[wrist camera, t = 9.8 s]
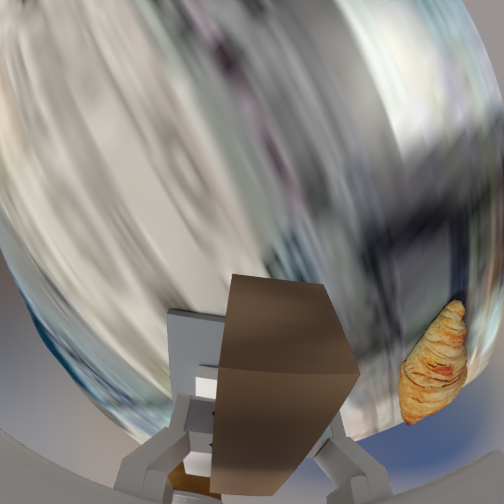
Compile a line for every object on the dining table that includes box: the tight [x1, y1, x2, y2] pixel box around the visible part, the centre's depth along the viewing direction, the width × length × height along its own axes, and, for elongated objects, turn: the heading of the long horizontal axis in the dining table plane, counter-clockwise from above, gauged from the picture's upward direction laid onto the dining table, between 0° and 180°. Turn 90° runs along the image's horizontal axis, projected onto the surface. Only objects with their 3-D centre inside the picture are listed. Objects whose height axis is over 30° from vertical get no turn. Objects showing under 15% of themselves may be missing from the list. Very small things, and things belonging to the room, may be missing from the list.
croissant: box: [398, 300, 467, 426], centre depth 24 cm, size 21×10×8 cm, turn 7°
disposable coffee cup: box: [167, 461, 223, 504], centre depth 27 cm, size 10×10×12 cm
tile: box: [196, 365, 218, 399], centre depth 25 cm, size 2×8×8 cm
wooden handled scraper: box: [183, 274, 360, 496], centre depth 10 cm, size 7×18×4 cm, turn 172°
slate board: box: [167, 309, 226, 407], centre depth 26 cm, size 18×14×1 cm
